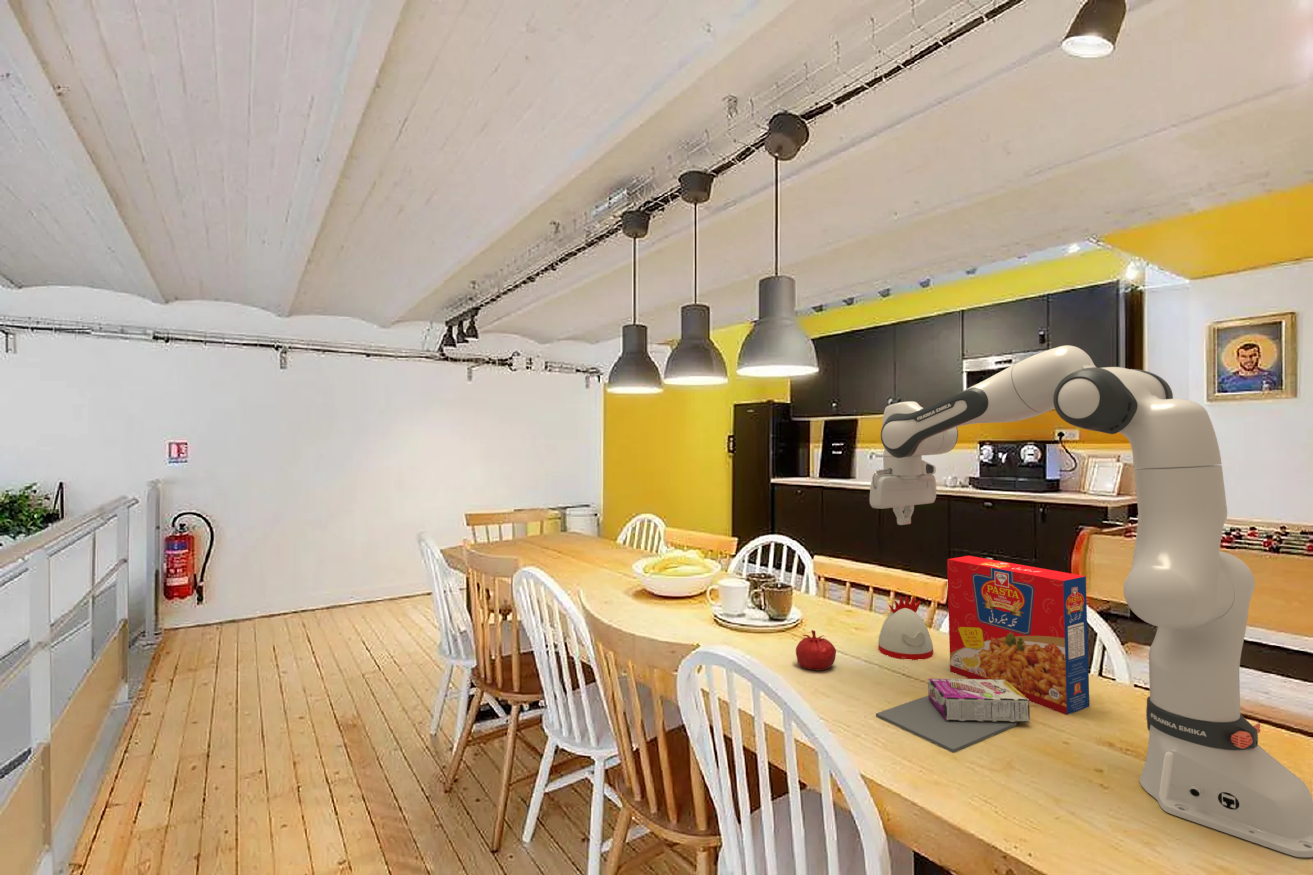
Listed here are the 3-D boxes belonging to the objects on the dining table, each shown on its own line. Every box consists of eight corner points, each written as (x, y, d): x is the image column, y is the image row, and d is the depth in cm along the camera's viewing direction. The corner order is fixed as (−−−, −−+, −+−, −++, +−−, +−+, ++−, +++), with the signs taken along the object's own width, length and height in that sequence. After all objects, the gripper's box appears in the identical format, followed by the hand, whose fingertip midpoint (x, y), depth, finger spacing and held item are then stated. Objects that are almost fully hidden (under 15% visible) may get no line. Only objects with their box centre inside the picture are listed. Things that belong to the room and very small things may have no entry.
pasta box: (950, 671, 155) (947, 559, 155) (971, 665, 158) (968, 555, 158) (1066, 715, 129) (1063, 580, 130) (1089, 706, 133) (1085, 576, 133)
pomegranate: (827, 677, 154) (826, 640, 153) (789, 668, 160) (788, 632, 159) (842, 664, 161) (841, 628, 161) (805, 656, 168) (804, 622, 167)
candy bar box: (927, 676, 137) (1005, 678, 136) (927, 699, 137) (1005, 701, 136) (945, 697, 126) (1030, 699, 125) (945, 721, 126) (1031, 724, 125)
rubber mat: (1016, 725, 125) (1016, 722, 125) (953, 752, 115) (953, 749, 115) (937, 694, 141) (937, 692, 141) (875, 716, 131) (875, 713, 131)
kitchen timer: (942, 659, 163) (940, 602, 163) (889, 661, 163) (887, 603, 163) (920, 642, 177) (919, 589, 177) (871, 643, 177) (870, 590, 177)
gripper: (883, 470, 145) (885, 529, 145) (940, 466, 155) (941, 521, 155) (862, 469, 150) (864, 526, 150) (918, 465, 160) (920, 519, 160)
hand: (904, 524), depth 153 cm, fingers closed
